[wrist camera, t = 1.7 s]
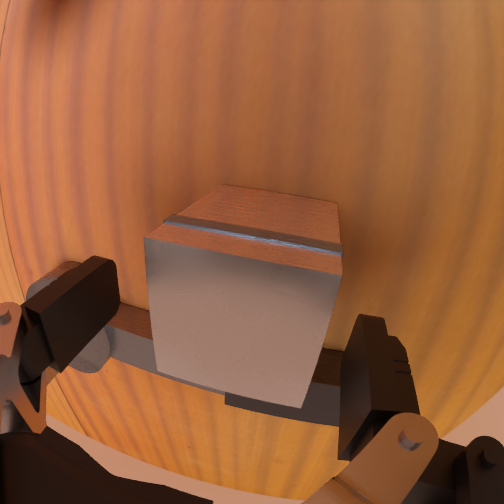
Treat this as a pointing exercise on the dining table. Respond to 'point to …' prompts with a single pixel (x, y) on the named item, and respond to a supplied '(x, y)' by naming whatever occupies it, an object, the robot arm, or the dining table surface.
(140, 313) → the ratchet
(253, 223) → the silver block
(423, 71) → the dining table surface
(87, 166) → the dining table surface
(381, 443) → the robot arm
